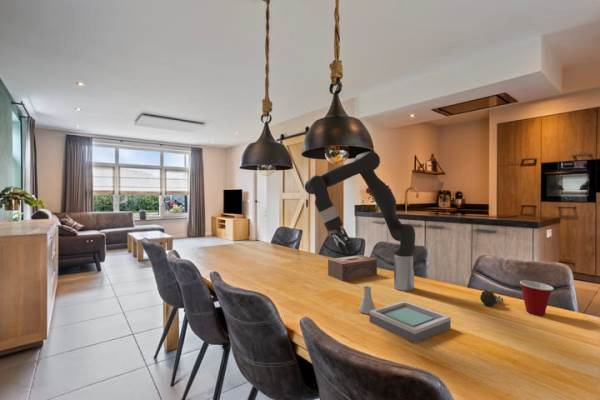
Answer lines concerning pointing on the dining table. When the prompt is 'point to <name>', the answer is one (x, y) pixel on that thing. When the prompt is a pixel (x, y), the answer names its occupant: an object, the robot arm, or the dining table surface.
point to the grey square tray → (410, 321)
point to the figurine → (489, 298)
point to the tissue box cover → (352, 267)
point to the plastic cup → (535, 296)
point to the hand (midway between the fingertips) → (347, 252)
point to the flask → (367, 301)
